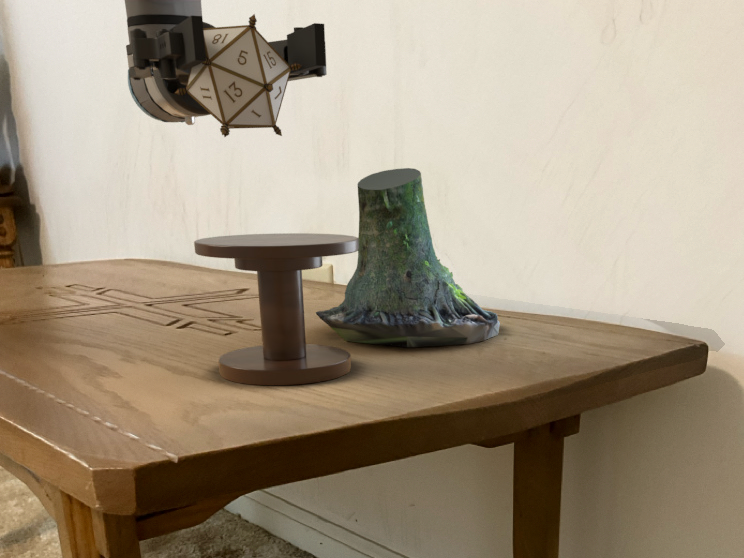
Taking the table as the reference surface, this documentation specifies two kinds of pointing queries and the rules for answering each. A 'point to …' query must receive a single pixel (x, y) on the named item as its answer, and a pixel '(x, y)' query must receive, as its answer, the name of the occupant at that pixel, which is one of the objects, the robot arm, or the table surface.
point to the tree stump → (403, 275)
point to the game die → (240, 78)
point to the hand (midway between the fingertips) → (261, 41)
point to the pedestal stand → (281, 307)
